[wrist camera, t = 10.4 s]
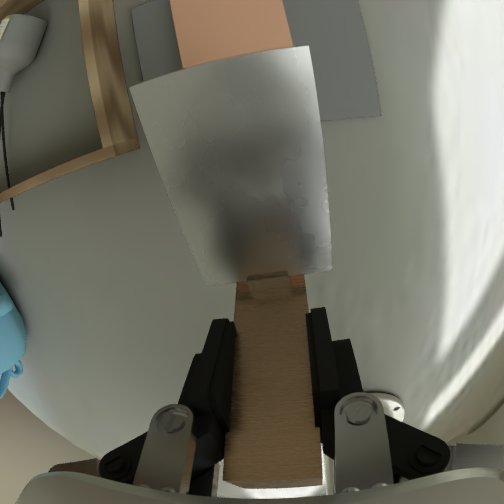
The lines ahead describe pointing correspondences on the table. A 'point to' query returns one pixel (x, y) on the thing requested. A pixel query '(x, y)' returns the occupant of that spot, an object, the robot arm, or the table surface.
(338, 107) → the mat
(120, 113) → the wooden frame
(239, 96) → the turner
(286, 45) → the tile
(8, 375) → the decorative pot
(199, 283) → the table surface
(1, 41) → the reed diffuser
